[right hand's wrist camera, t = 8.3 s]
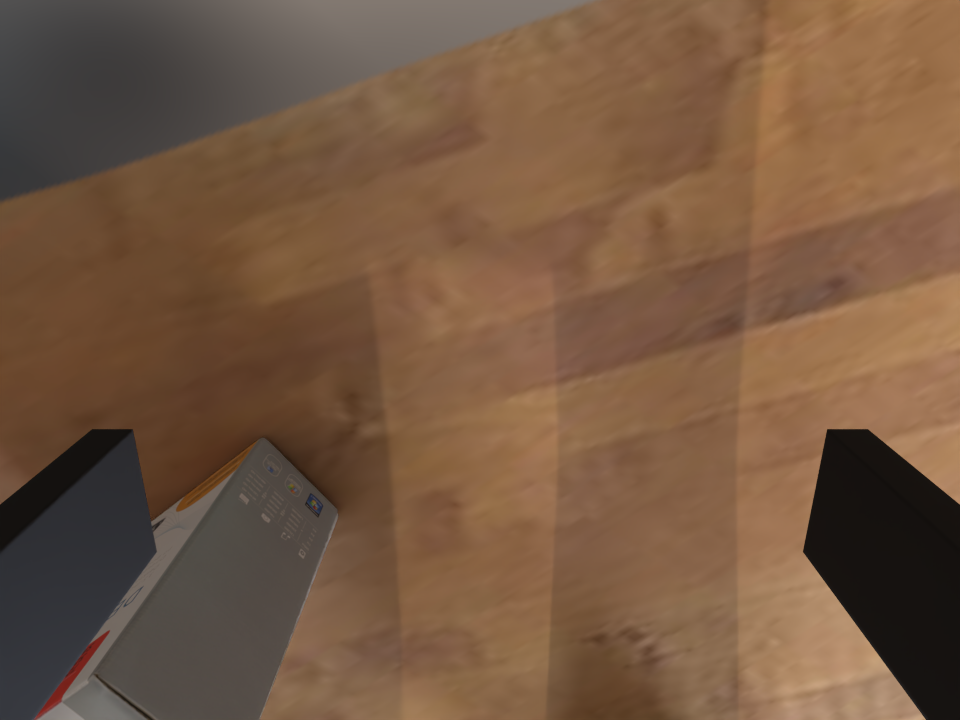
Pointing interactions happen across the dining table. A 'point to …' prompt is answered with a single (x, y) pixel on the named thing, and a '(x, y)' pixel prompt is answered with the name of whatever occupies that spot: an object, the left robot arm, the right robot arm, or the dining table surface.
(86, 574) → the right robot arm
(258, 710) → the hard drive box
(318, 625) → the dining table surface
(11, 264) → the dining table surface
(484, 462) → the dining table surface
